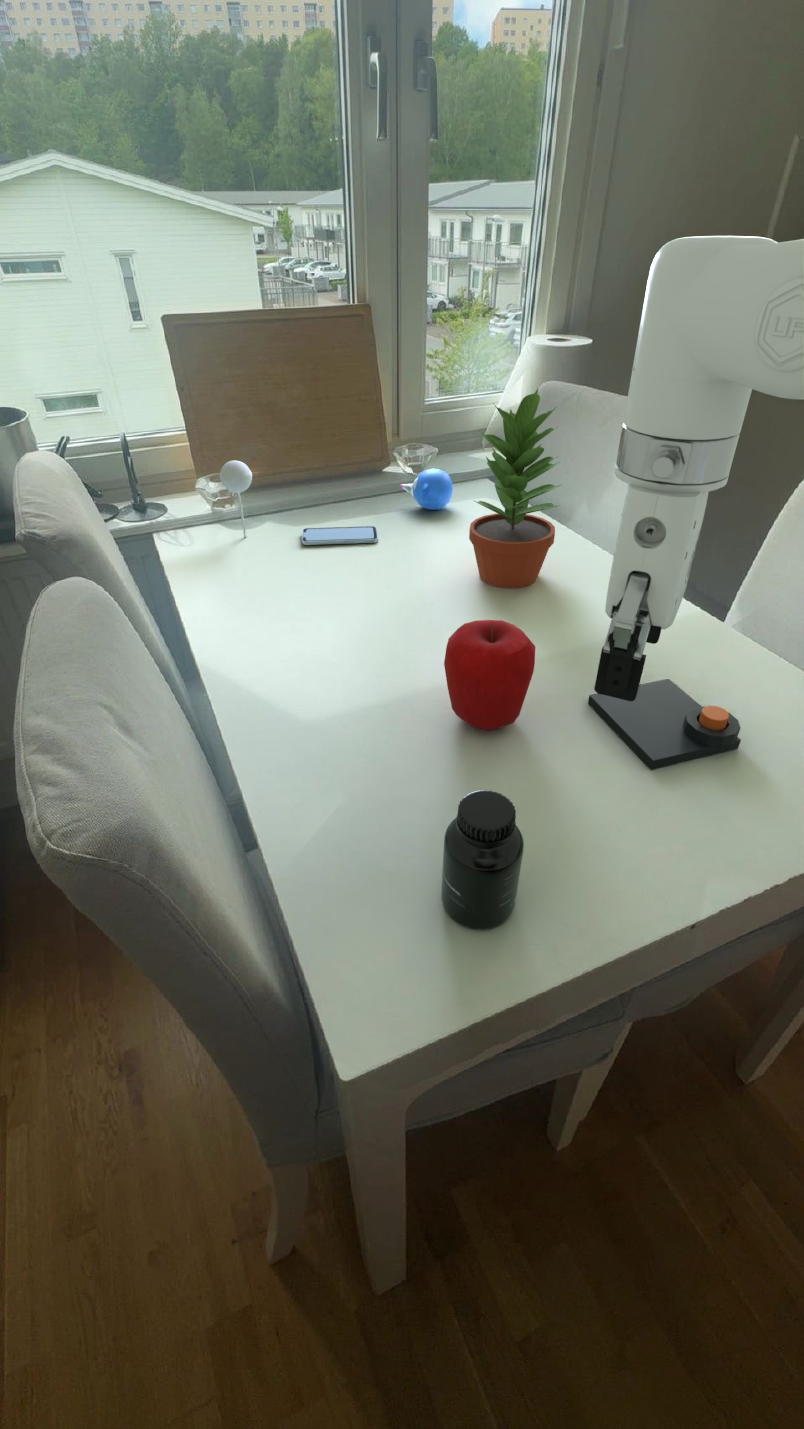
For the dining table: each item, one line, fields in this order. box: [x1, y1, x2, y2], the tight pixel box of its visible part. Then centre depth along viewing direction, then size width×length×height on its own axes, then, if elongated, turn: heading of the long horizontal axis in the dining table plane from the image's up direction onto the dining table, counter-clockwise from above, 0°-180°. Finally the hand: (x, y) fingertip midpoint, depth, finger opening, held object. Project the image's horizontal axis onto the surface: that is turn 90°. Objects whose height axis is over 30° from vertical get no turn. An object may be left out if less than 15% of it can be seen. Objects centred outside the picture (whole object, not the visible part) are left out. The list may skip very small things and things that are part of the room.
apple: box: [443, 619, 536, 732], centre depth 82 cm, size 10×10×14 cm
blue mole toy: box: [399, 468, 454, 511], centre depth 147 cm, size 12×12×8 cm
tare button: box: [699, 705, 730, 730], centre depth 80 cm, size 3×3×2 cm
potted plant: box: [468, 388, 563, 589], centre depth 111 cm, size 15×15×30 cm
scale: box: [587, 678, 742, 771], centre depth 83 cm, size 14×12×3 cm
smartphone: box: [301, 525, 379, 546], centre depth 136 cm, size 7×1×15 cm
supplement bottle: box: [441, 789, 525, 931], centre depth 59 cm, size 7×7×12 cm
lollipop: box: [219, 460, 253, 538], centre depth 133 cm, size 6×6×15 cm
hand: (627, 665), depth 57 cm, fingers open, 9 cm apart
